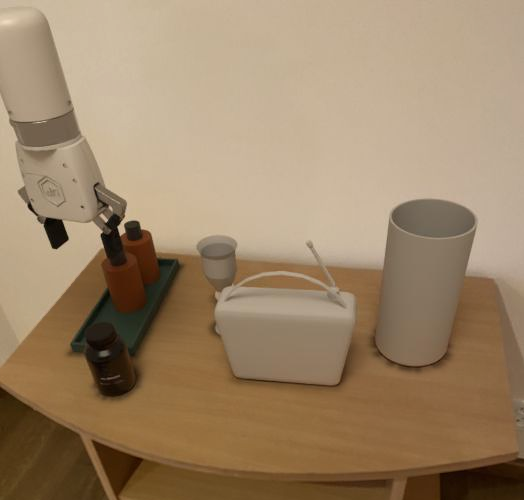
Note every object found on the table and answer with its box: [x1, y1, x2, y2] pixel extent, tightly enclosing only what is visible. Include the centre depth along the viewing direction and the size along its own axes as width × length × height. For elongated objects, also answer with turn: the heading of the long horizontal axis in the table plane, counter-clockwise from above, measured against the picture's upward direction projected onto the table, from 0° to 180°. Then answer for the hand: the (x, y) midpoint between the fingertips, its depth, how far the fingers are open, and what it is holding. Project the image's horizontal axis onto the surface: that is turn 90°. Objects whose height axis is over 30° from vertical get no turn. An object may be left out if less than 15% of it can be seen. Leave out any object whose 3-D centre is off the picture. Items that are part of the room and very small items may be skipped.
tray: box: [69, 257, 181, 357], centre depth 105 cm, size 30×12×2 cm, turn 171°
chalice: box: [195, 234, 238, 335], centre depth 92 cm, size 7×7×18 cm
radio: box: [213, 239, 358, 387], centre depth 81 cm, size 22×8×25 cm, turn 80°
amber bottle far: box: [120, 219, 161, 286], centre depth 108 cm, size 7×7×13 cm
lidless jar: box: [214, 283, 235, 302], centre depth 105 cm, size 5×3×5 cm
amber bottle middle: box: [100, 247, 147, 313], centre depth 101 cm, size 7×7×13 cm
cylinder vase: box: [374, 198, 479, 367], centre depth 83 cm, size 12×12×25 cm
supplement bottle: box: [83, 322, 137, 397], centre depth 85 cm, size 7×7×12 cm
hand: (87, 249), depth 74 cm, fingers open, 9 cm apart
